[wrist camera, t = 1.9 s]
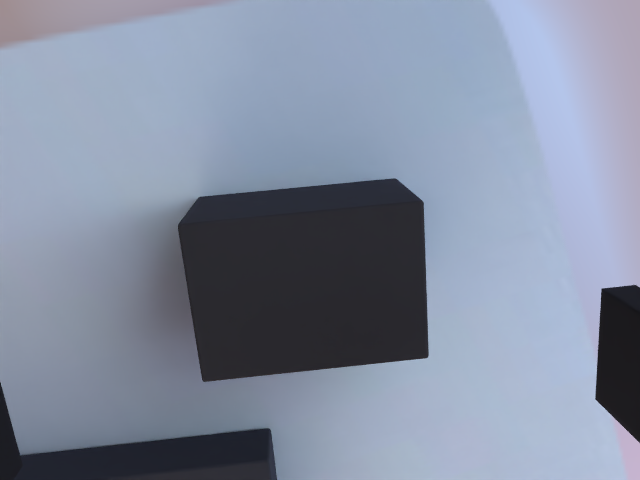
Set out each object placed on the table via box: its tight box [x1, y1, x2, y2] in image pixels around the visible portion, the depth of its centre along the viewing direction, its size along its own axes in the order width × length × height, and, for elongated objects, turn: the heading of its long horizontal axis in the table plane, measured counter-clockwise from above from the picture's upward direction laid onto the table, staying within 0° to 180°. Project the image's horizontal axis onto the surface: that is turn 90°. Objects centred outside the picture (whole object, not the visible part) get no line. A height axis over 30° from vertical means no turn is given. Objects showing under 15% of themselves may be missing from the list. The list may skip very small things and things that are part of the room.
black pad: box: [178, 179, 429, 382], centre depth 18 cm, size 5×7×4 cm
